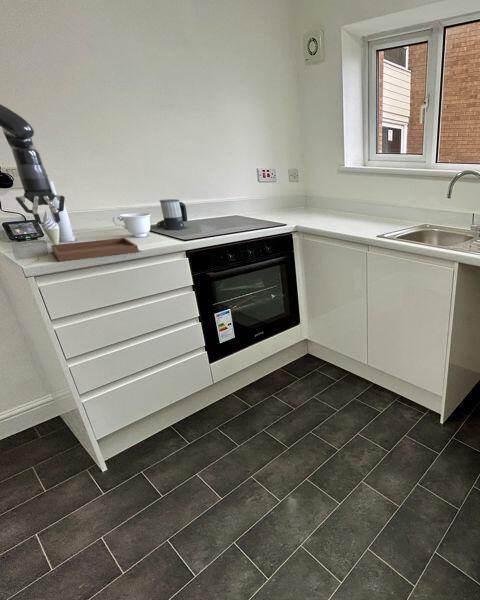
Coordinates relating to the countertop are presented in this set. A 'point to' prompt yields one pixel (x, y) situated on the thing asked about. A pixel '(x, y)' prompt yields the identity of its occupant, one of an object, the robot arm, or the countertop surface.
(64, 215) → the bottle
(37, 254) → the countertop surface
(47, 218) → the ice cream cone
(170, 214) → the milk frother
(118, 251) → the serving tray
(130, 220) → the teacup
